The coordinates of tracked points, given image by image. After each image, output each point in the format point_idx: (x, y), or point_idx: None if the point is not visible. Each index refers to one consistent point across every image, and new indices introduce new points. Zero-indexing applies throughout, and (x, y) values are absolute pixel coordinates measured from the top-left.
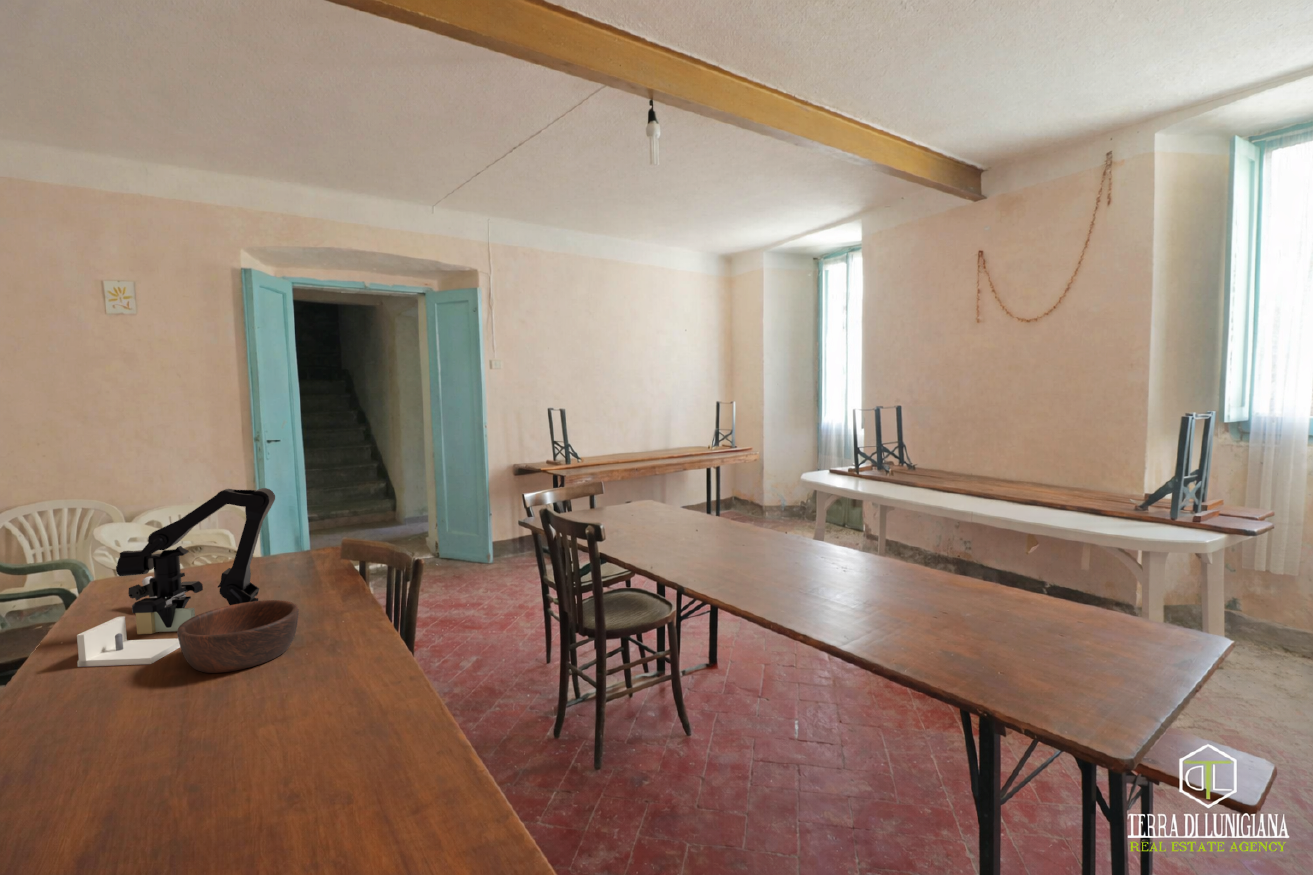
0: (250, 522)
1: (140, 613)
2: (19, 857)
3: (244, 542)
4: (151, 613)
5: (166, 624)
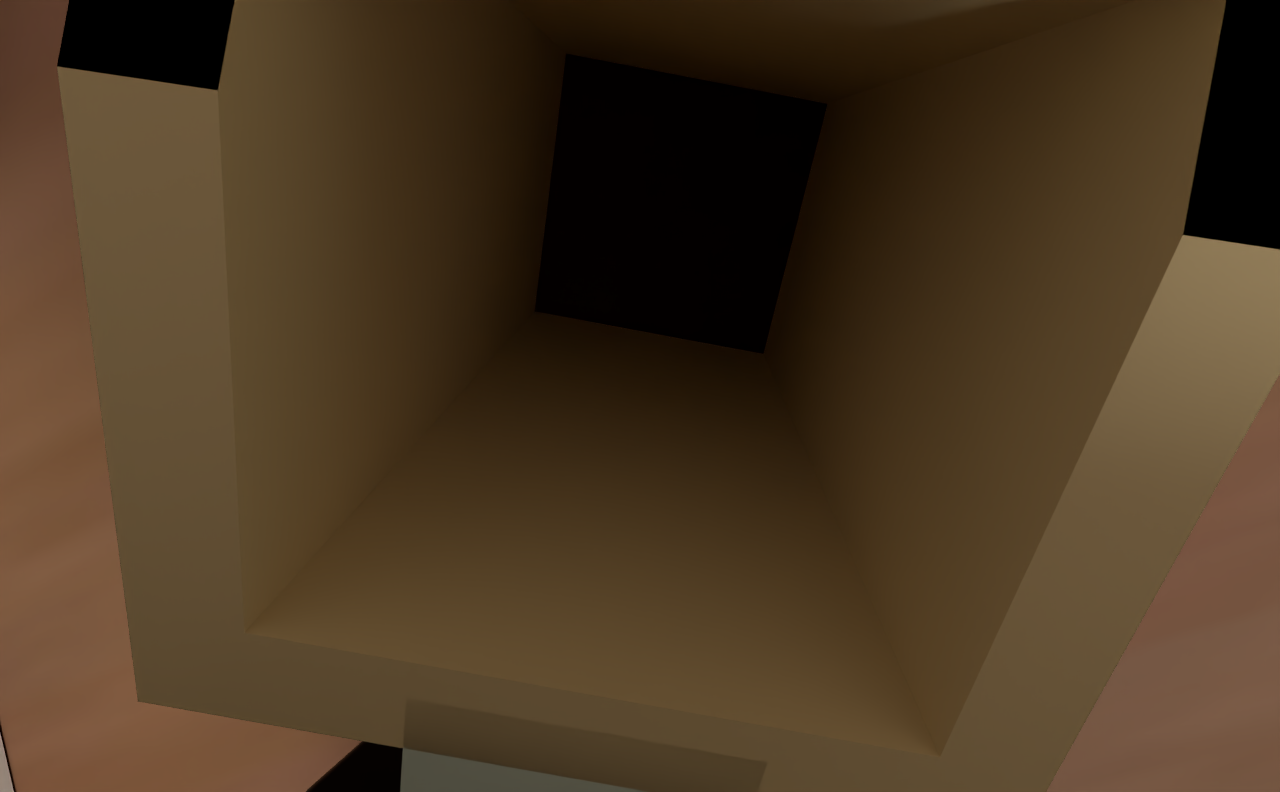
0: None
1: (95, 33)
2: None
3: None
4: (233, 658)
5: None
